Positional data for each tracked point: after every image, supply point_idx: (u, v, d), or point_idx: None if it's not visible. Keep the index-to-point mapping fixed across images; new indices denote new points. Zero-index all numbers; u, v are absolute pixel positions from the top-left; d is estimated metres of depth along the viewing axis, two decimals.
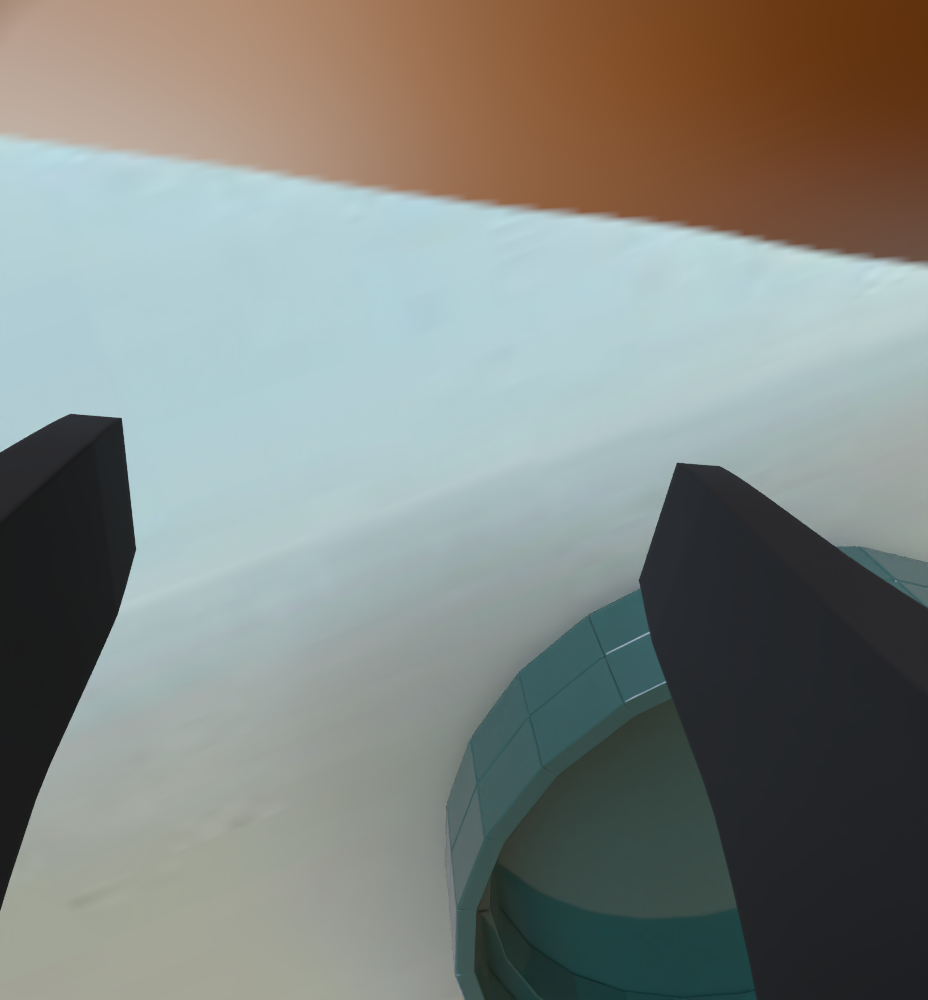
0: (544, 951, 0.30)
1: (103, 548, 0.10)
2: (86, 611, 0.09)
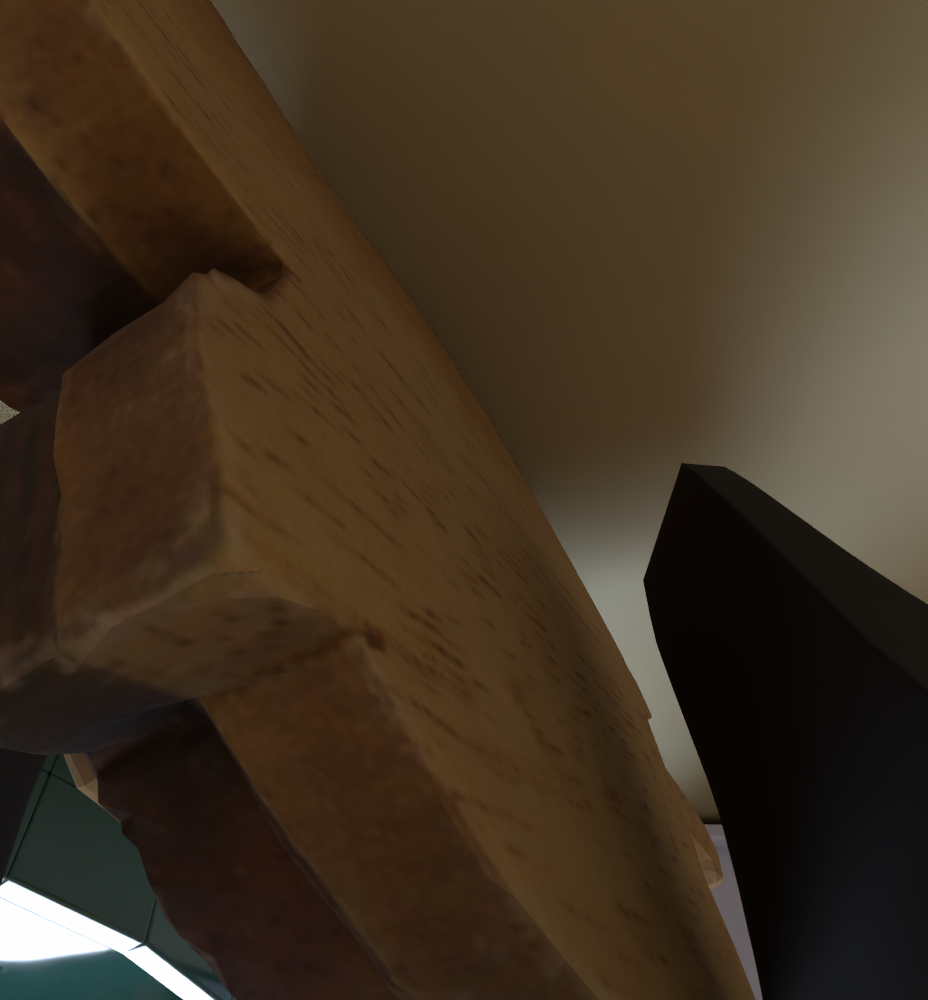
0: None
1: None
2: None
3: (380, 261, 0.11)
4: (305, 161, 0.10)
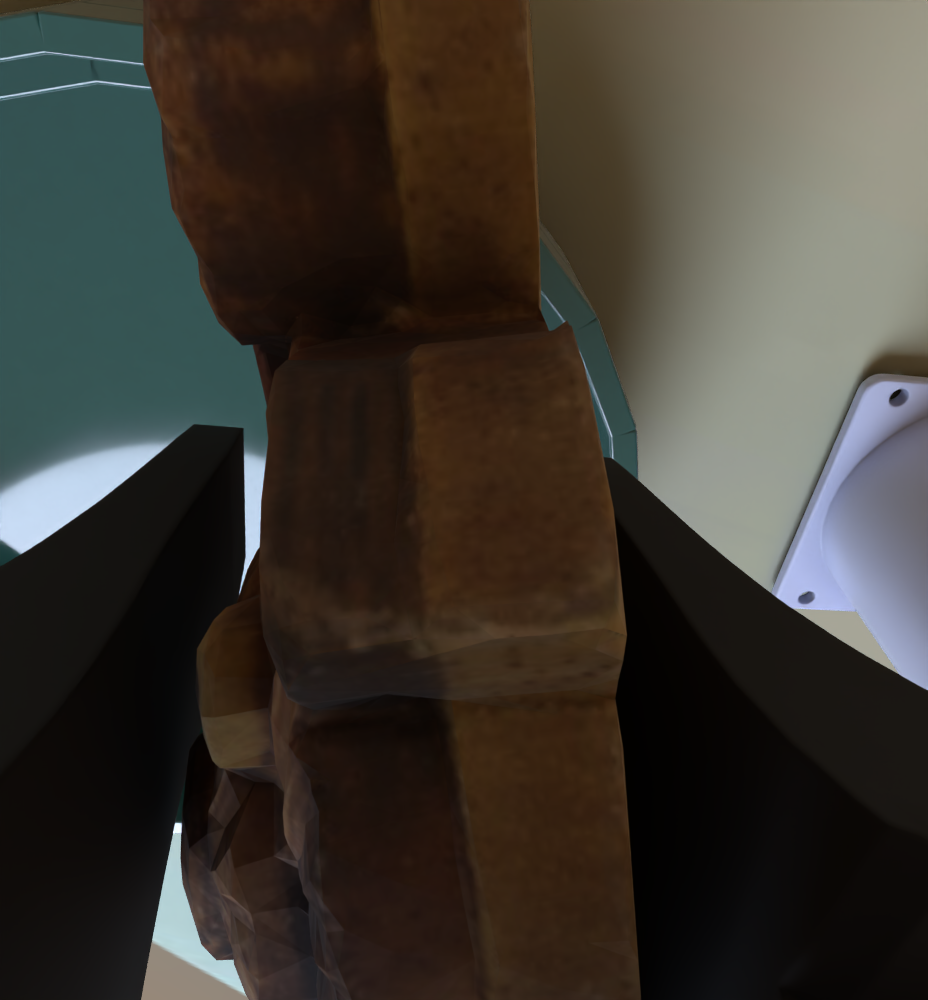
0: None
1: (229, 555, 0.10)
2: None
3: None
4: None
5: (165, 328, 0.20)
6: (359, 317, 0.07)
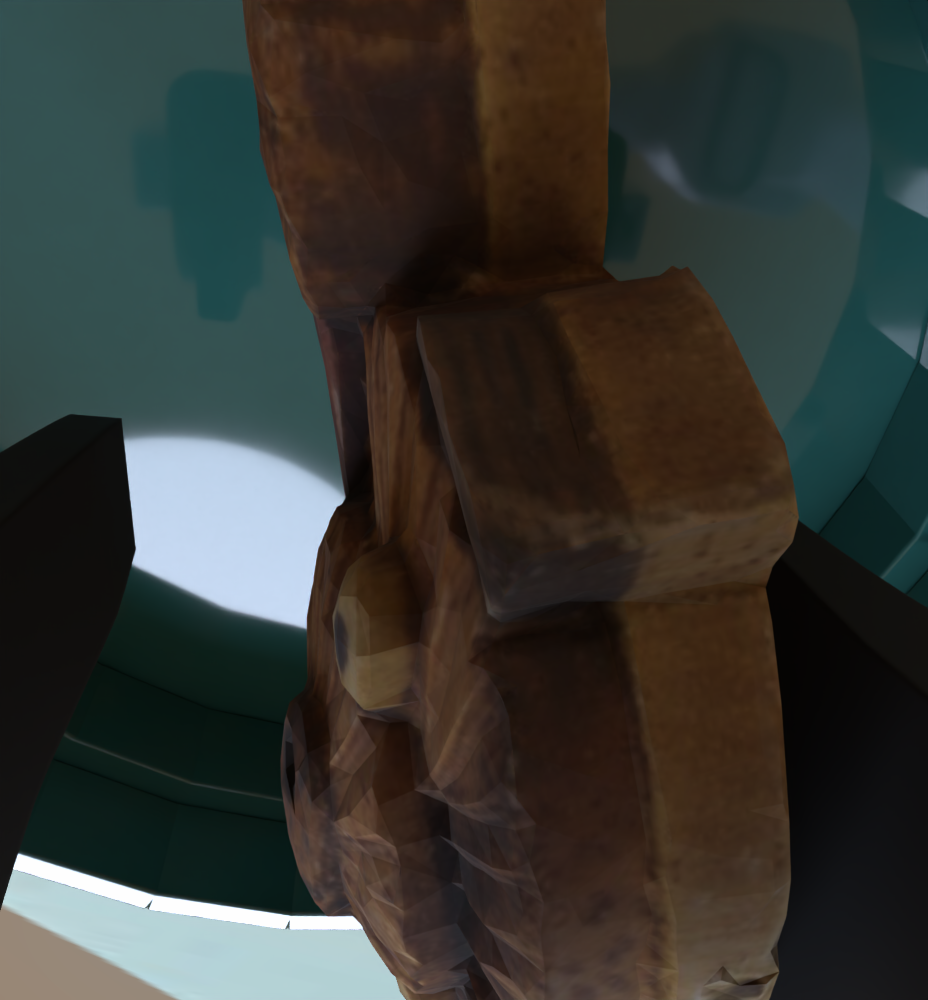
0: (875, 441, 0.16)
1: (103, 548, 0.10)
2: (86, 611, 0.09)
3: None
4: None
5: None
6: (435, 286, 0.08)
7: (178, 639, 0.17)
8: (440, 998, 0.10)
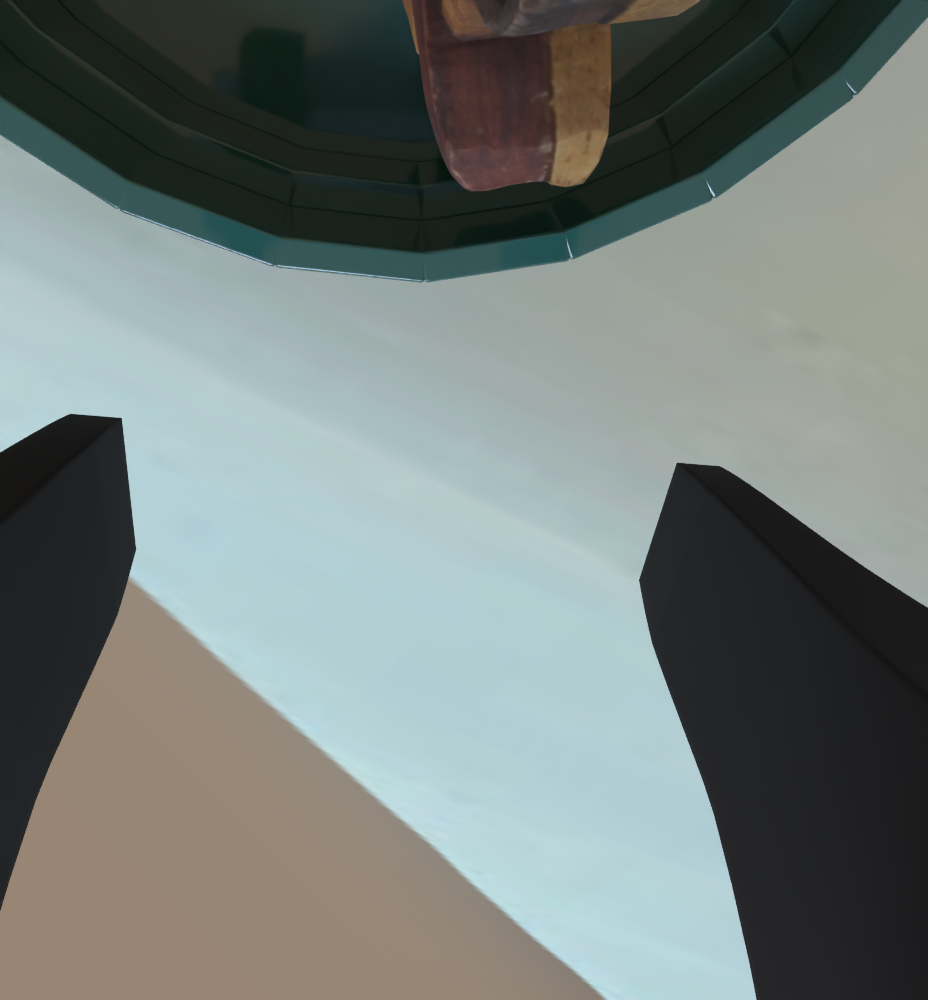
0: None
1: (103, 548, 0.10)
2: (86, 611, 0.09)
3: None
4: None
5: None
6: None
7: None
8: None
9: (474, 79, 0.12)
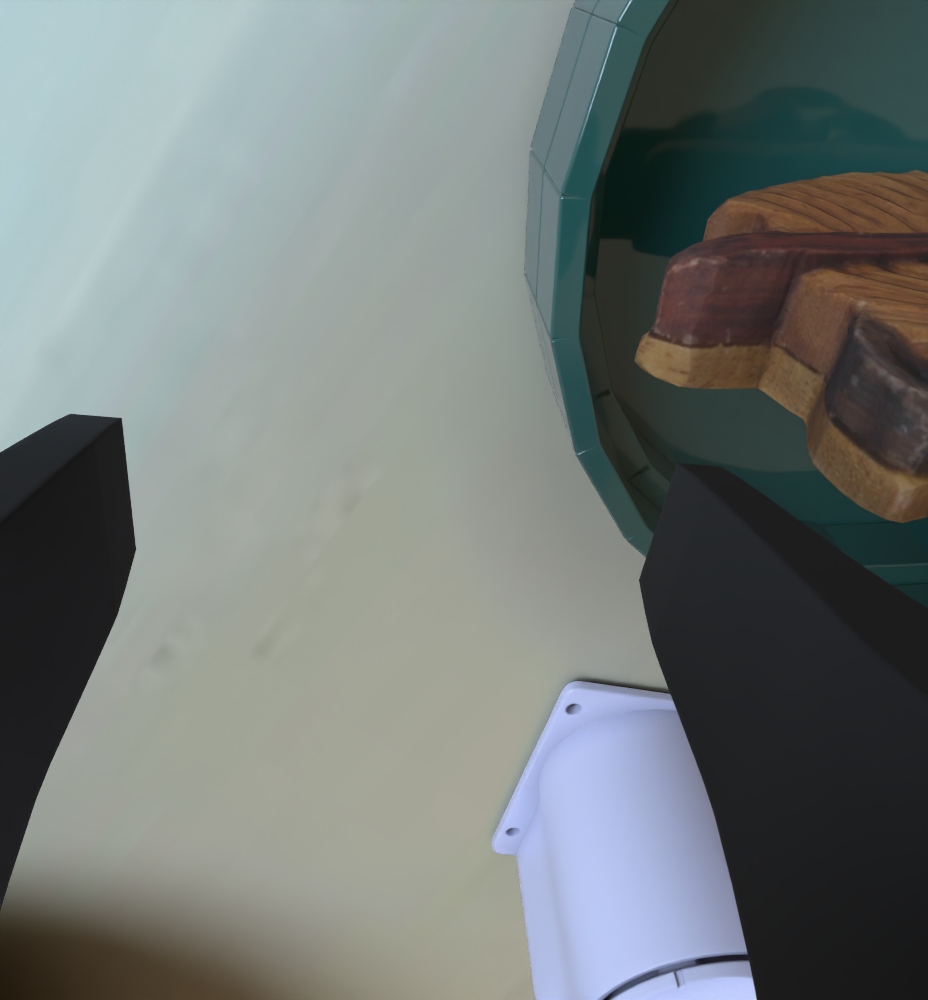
0: None
1: (102, 548, 0.10)
2: (86, 611, 0.09)
3: None
4: None
5: None
6: None
7: None
8: None
9: (763, 286, 0.14)
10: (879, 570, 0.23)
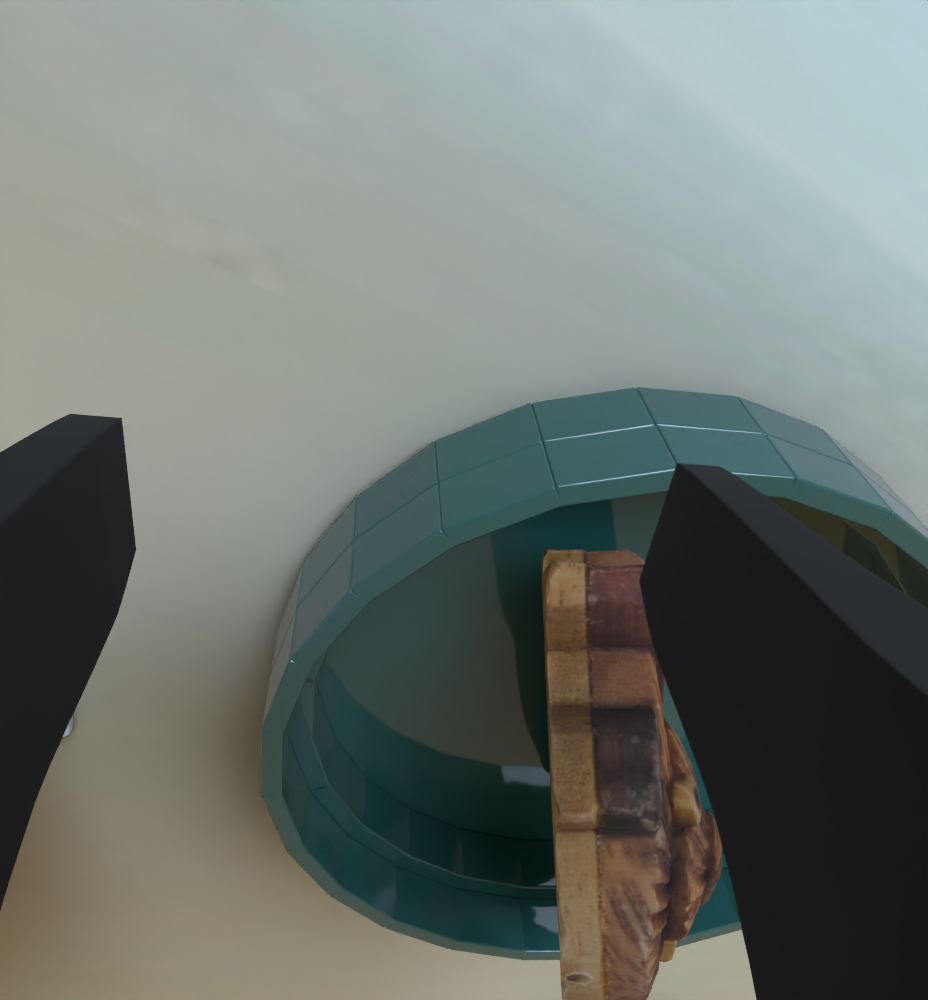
0: None
1: (103, 548, 0.10)
2: (86, 611, 0.09)
3: None
4: None
5: None
6: None
7: None
8: (681, 820, 0.18)
9: (639, 632, 0.19)
10: (313, 754, 0.26)
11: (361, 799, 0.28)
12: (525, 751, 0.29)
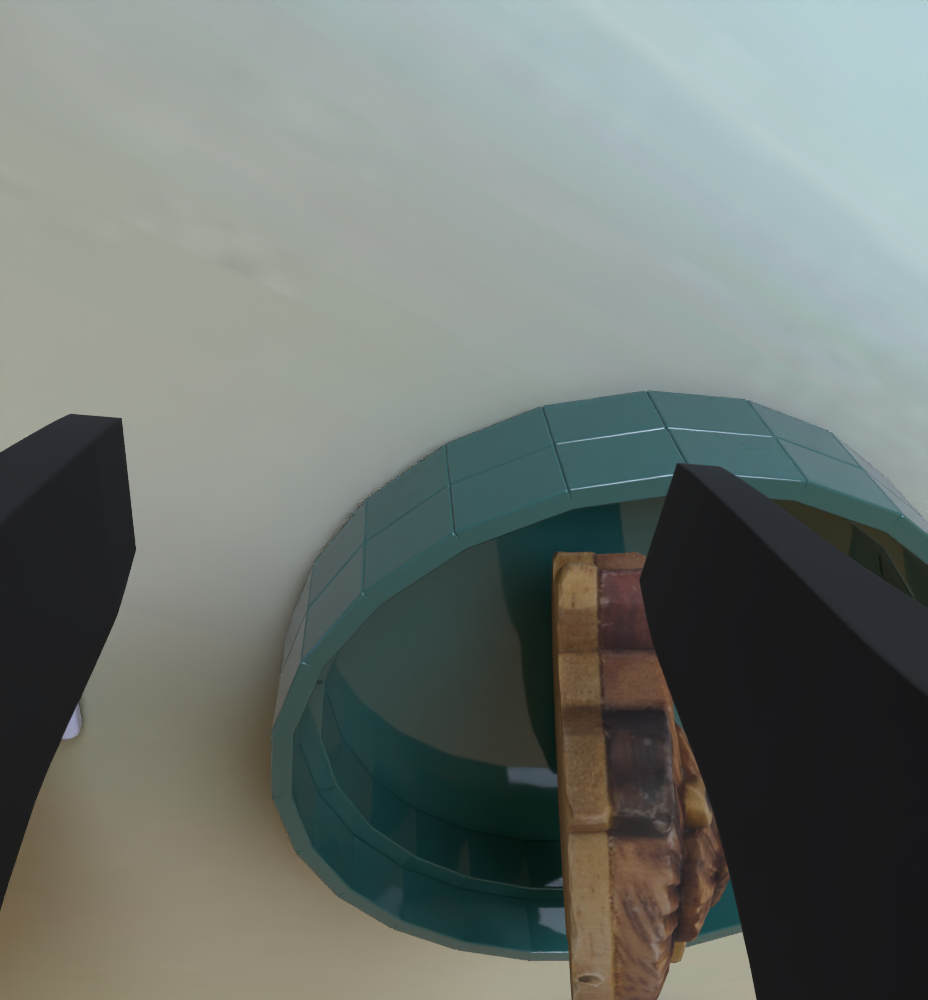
0: None
1: (103, 548, 0.10)
2: (86, 611, 0.09)
3: None
4: None
5: None
6: None
7: None
8: (692, 821, 0.18)
9: None
10: (321, 756, 0.26)
11: (368, 800, 0.28)
12: (532, 752, 0.29)
